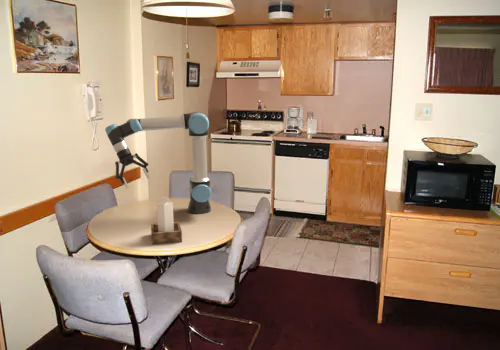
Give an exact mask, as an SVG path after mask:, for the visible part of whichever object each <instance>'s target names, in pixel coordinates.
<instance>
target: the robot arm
mask: <svg viewBox="0 0 500 350" xmlns="http://www.w3.org/2000/svg"><path fill="white" fill-rule="evenodd" d="M209 128H210V121H209V118H208V117H207V115H205V114H204V113H202V112H200V111H193V112H189V113H188V112H187V113H182V115H175V116H173V115H172V116H158V117H147V118H145V117H144V118H129V119H128V120H126V121H125V122H124V123H123V124H120V125H118V124H117V123H112V124H110V125H107V127H105V133H106V135H107V137H108V139H109V142H110V144H111V145H112V147H113V150H114V152H115V153H116V156H117V158H118V161H115V162H114V164H115V179H116V180H120V182H121V184H123V185H124V187H125V189H129V185H128V183H127V181H126V178H125V177H124V172H125V168H126V167H127V166H129V165H132V164H134V165H136V166H139V167H141V168H142V171H143V174H145V177H146V179H147V180H148V179H150V178H151V177H150V175H149V170H148V168H147V167H148V166H149V162H147V161H145V160H144V159H143V158H142V157H140V155H138V153H137V152H136V153H135V154H132V153H131V151H130V148H128V144H127V142H126V141H125V138H127V137H129V136H132V135H134V134H136V133H138V132H145V131H159V130H161V131H162V130H171V129H183V130H188V136H189V137H190V138H191V151H192V156H191V158H192V175H193V176H190V177H189V203H188V206H187V212H188V213H190V214H196V215H197V214H207V213H210V212H211V211H212V206H211V203H210V198H211V196H212V189H211V179H210V178H209V177H208V156H207V155H208V154H207V138H208V136H209ZM134 158H135V159H137V160H138V161H137V160H135V159H134ZM120 164H121V165H122V166H121V170H120Z"/></svg>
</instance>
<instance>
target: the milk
mask: <svg viewBox="0 0 500 350" xmlns="http://www.w3.org/2000/svg"><path fill="white" fill-rule="evenodd" d="M156 209H157V224H158V232H169V231H174V203H173V202H172V201H170V200H169V197H166V196H161V197H160V200H159V201H157V203H156Z"/></svg>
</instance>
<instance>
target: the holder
mask: <svg viewBox="0 0 500 350" xmlns="http://www.w3.org/2000/svg"><path fill="white" fill-rule="evenodd" d="M173 222H174V221H173ZM150 228H151V229H150V234H151V235H150V236H151V244H152V245H162V244H175V243H182V242H183V238H182V237H183V233H182V232H183V231H182V227H181V223H180V221H176V222H174V231H169V232H158V223H151V224H150Z"/></svg>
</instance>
